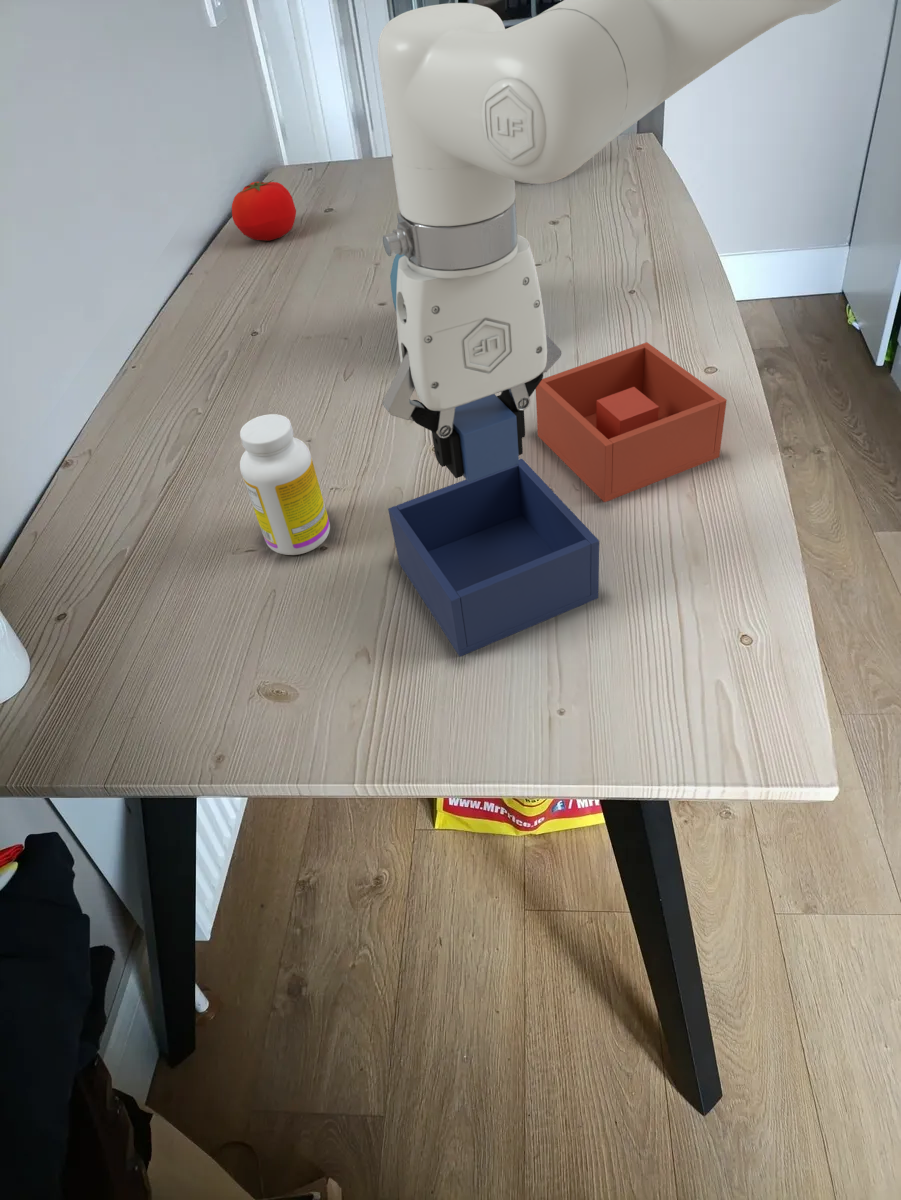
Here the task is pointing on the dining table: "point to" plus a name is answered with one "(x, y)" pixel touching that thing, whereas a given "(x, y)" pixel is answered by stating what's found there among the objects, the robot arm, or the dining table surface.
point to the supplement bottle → (283, 486)
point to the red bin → (644, 452)
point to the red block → (624, 412)
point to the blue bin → (495, 555)
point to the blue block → (486, 437)
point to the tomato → (264, 211)
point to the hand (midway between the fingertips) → (481, 455)
